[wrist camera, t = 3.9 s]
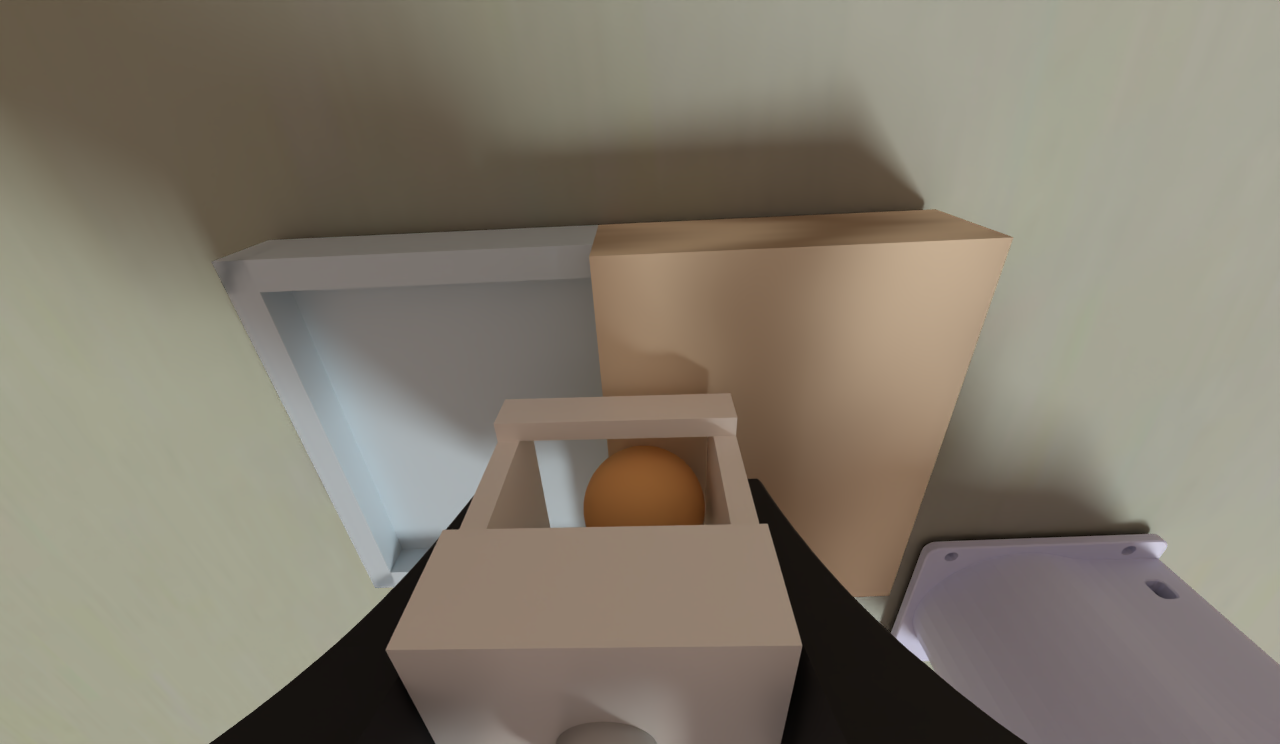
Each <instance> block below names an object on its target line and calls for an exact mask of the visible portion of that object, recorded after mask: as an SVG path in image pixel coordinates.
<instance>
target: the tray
mask: <svg viewBox="0 0 1280 744" xmlns="http://www.w3.org/2000/svg"><path fill="white" fill-rule="evenodd" d="M597 228H598V225H584V226H563V227H541V228H519V229H497V230H476V231H454V232H432V233H411V234H389V235H367V236H345V237H324V238H302V239H280V240H267V241H265V242H262V243H259V244H257V245H254V246H251V247H249V248H246V249H243V250H241V251H238V252H236V253H233V254H230V255H228V256H225V257H222V258H220V259H217V260H214V261H212V264H213V266H214V268H215V270H216V272H217V274H218V276H219V278H220V280H221V282H222V284H223V286H224V288H225V290H226V292H227V294H228V296H229V298H230V300H231V302H232V304H233V306H234V308H235V310H236V312H237V314H238V316H239V318H240V320H241V322H242V324H243V326H244V328H245V330H246V332H247V334H248V336H249V338H250V340H251V342H252V344H253V346H254V348H255V350H256V352H257V354H258V356H259V358H260V360H261V362H262V364H263V366H264V368H265V370H266V372H267V374H268V376H269V378H270V380H271V382H272V384H273V386H274V388H275V390H276V392H277V394H278V395H279V397H280V399H281V401H282V403H283V405H284V407H285V409H286V411H287V413H288V415H289V417H290V419H291V421H292V423H293V425H294V427H295V429H296V431H297V433H298V435H299V437H300V439H301V441H302V443H303V445H304V447H305V449H306V451H307V453H308V455H309V457H310V459H311V461H312V463H313V465H314V467H315V469H316V471H317V473H318V475H319V477H320V479H321V481H322V483H323V485H324V487H325V489H326V491H327V493H328V495H329V497H330V499H331V501H332V503H333V505H334V507H335V509H336V511H337V513H338V515H339V517H340V519H341V521H342V523H343V525H344V527H345V529H346V531H347V533H348V535H349V537H350V539H351V541H352V543H353V545H354V547H355V549H356V551H357V553H358V555H359V557H360V559H361V561H362V563H363V565H364V567H365V569H366V571H367V573H368V575H369V577H370V579H371V581H372V583H373V585H374V587H375V588H387V587H395V586H396V585H397V584H398V583H399V582H400V581H401V579H402V578H403V577H404V576H405V575H406V574H407V573H408V572H409V571H410V570H411V569H412V568H413V567H414V566H415V564H416V563H417V562H418V561H419V560H420V559H421V558H422V557H423V555H424V554H425V553H426V552H427V551H428V550H429V548H430V547H431V546H432V545H433V544H434V543H435V542H436V540H437V539H438V538H439V537H440V535H441V533H442V531H443V530H446V529H447V527H448V526H449V525H450V524H451V523H452V521H453V520H454V519H455V518H456V517H457V515H458V514H459V513H460V512H461V510H462V509H463V508H464V507H465V505H466V504H467V503H468V502H469V501H470V499H471V498H472V497H473V496H474V495H475V492H476V490H477V488H478V485H479V483H480V481H481V479H482V476H483V474H484V472H485V470H486V467H487V465H488V463H489V460H490V458H491V456H492V454H493V451H494V449H495V447H496V445H497V442H498V441H497V437H496V432H495V428H494V422H495V420H496V418H497V415H498V413H499V411H500V409H501V407H502V405H503V403H504V401H505V399H537V398H573V397H603V394H602V384H601V373H600V363H599V353H598V343H597V333H596V322H595V312H594V302H593V292H592V281H591V271H590V261H589V255H590V252H591V248H592V245H593V242H594V238H595V235H596V232H597ZM534 444H535V450H536V455H537V460H538V465H539V471H540V476H541V481H542V486H543V491H544V497H545V502H546V507H547V512H548V517H549V523H550V528H567V527H586V525H585V520H584V497H585V492H586V489H587V486H588V484H589V481H590V479H591V477H592V475H593V474H594V472H595V471H596V470H597V468H598V467H599V466H600V465H601V464H602V463H603V462H604V461H605V460H606V459H607V458H609V455H608V445H607V439H589V440H548V441H534Z"/></svg>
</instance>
